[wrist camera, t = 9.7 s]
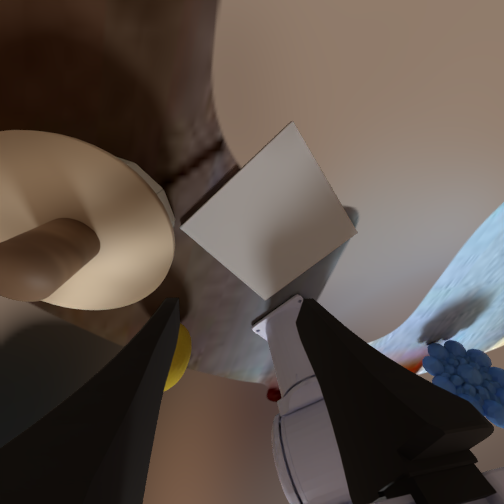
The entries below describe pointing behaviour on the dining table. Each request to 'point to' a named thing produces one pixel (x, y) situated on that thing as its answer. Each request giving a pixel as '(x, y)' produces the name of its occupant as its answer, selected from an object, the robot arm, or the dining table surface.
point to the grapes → (468, 377)
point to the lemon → (179, 357)
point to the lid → (77, 224)
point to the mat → (272, 216)
